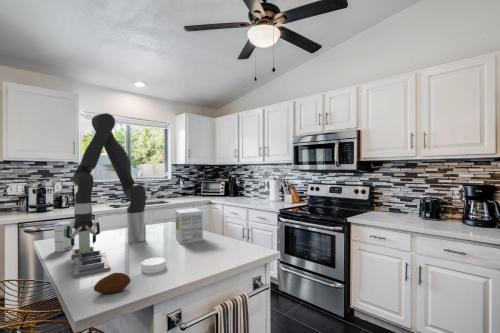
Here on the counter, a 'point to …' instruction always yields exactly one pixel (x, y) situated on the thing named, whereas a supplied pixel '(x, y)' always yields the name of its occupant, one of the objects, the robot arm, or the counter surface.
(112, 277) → the potato
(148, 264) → the coaster
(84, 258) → the rack
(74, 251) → the bracket
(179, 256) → the counter surface
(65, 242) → the syrup box
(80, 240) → the peg
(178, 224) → the supplement box
